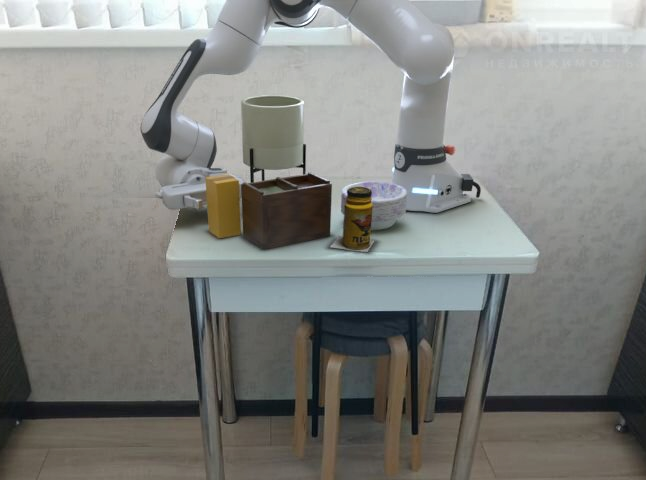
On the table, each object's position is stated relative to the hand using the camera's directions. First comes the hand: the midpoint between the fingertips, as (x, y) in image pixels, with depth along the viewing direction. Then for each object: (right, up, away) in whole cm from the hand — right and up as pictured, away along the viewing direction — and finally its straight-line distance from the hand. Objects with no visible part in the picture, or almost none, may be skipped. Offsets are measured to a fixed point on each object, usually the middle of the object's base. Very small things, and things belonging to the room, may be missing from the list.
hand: (218, 201), depth 158 cm
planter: (+12, +9, +24) cm, 28 cm away
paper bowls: (+36, -3, +8) cm, 37 cm away
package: (+1, -6, +2) cm, 7 cm away
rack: (+15, -8, +1) cm, 17 cm away
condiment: (+30, -11, -3) cm, 32 cm away
